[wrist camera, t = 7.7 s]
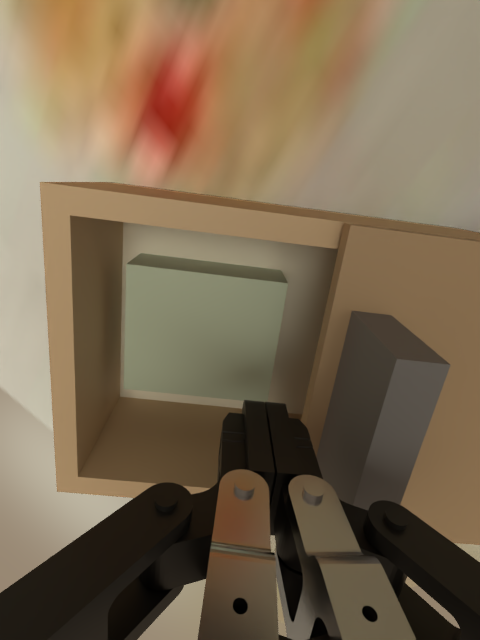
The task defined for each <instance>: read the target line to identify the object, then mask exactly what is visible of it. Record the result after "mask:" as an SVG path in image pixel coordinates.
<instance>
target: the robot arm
mask: <svg viewBox="0 0 480 640" xmlns="http://www.w3.org/2000/svg"><path fill="white" fill-rule="evenodd" d="M310 439H311V438H310V435H309V432H308V429H307V427H306V426H305V425H304V424H303V423H302V422H301V421H300V419H296V418H289V416H288V411H287V407H286V404H285V403H274V402H265V403H264V402H263V401H252V400H244V402H243V408H242V414H241V413H230V412H229V413H228V414H227V416H226V417H225V418H224V420H223V423H222V431H221V439H220V447H219V455H218V475H217V483H216V484H215V485H214V486H213V487H212V488H210V489H208V490H206V491H204V492H200V493H195V494H191V493H190V492H189V491H188V490H187V489H186V488H185V487H183V486H182V485H179V484H176V483H171V482H164V483H159V484H155V485H153V486H151V487H149V488H148V489H146V490H145V491H144V492H142V493H141V494H139V495H138V496H137V497H135V498H134V499H132V500H131V501H129V502H128V503H127V504H125V505H124V506H122V507H121V508H120V509H118V510H117V511H115V512H114V513H113V514H111V515H110V516H108V517H107V518H106V519H104V520H103V521H101V522H100V523H98V524H97V525H96V526H94V527H93V528H91V529H90V530H89V531H87V532H86V533H84V534H83V535H81V536H80V537H79V538H77V539H76V540H75V541H73V542H72V543H70V544H69V545H67V546H66V547H65V548H63V549H62V550H60V551H59V552H58V553H56V554H55V555H53V556H52V557H50V558H49V559H48V560H46V561H45V562H43V563H42V564H41V565H39V566H38V567H36V568H35V569H34V570H32V571H31V572H29V573H28V574H26V575H25V576H24V577H22V578H21V579H19V580H18V581H17V582H15V583H14V584H12V585H11V586H10V587H8V588H7V589H5V590H4V591H3V592H1V593H0V640H137V639H138V638H139V637H140V636H141V635H142V633H143V632H144V631H145V630H146V629H147V628H148V627H149V626H150V625H151V624H152V623H153V622H154V621H155V619H156V618H157V617H158V616H159V615H160V614H161V613H162V612H163V611H164V610H165V609H166V608H167V606H168V605H169V604H170V603H171V602H172V601H173V600H174V599H175V598H176V597H177V596H178V595H179V593H180V592H181V590H182V589H183V587H184V585H186V584H189V583H193V582H196V581H200V580H203V579H206V584H205V592H204V599H203V606H202V613H201V620H200V627H199V634H198V640H480V562H478V561H477V560H476V559H474V558H473V557H471V556H470V555H469V554H467V553H466V552H465V551H463V550H462V549H461V548H459V547H458V546H457V545H455V544H454V543H452V542H451V541H450V540H448V539H447V538H446V537H444V536H443V535H442V534H440V533H439V532H438V531H436V530H435V529H433V528H432V527H431V526H429V525H428V524H427V523H425V522H424V521H423V520H421V519H420V518H419V517H417V516H416V515H414V514H413V513H412V512H410V511H409V510H408V509H406V508H405V507H403V506H401V505H399V504H397V503H395V502H391V501H386V500H380V501H376V502H374V503H372V504H371V505H370V507H369V509H368V510H365V509H362V508H359V507H356V506H353V505H350V504H348V503H345V502H344V501H342V500H340V499H339V498H338V496H337V494H336V492H335V490H334V489H333V487H332V486H331V485H330V484H329V483H327V482H326V481H325V480H323V477H322V474H321V471H320V468H319V464H318V461H317V458H316V455H315V451H314V449H313V445H312V442H311V440H310ZM270 535H275V540H276V547H275V552H274V553H272V552H271V545H270ZM407 576H408V577H409V578H410V579H411V580H413V581H414V582H415V583H416V584H417V585H418V586H419V587H421V588H422V589H423V590H424V591H425V592H426V593H427V594H429V595H430V596H431V597H432V598H433V599H434V600H436V601H437V602H438V603H439V604H440V605H441V606H442V607H444V608H445V609H446V610H447V611H448V612H449V613H450V614H451V615H452V616H453V617H454V618H455V620H456V621H457V623H458V624H459V627H460V629H459V628H456V627H454V626H453V625H452V624H451V623H449V622H448V621H447V620H446V619H445V618H444V617H443V616H441V615H440V614H439V613H438V612H437V611H436V610H435V609H434V608H433V607H431V606H430V605H429V604H428V603H427V602H426V601H425V600H424V599H422V598H421V597H420V596H419V595H418V594H417V593H416V592H415V591H413V590H412V589H411V588H410V587H409V586H408V585H407V584H406V583H405V581H406V578H407ZM276 578H277V583H278V588H279V594H280V599H281V604H282V610H283V615H284V621H285V626H286V633H287V637H284V636H281V635H278V610H277V584H276Z"/></svg>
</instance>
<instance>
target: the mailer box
mask: <svg viewBox="0 0 480 640" xmlns="http://www.w3.org/2000/svg"><path fill="white" fill-rule="evenodd" d="M40 193H41V211H42V229H43V247H44V265H45V283H46V302H47V320H48V338H49V356H50V374H51V392H52V410H53V428H54V446H55V464H56V481H57V492H69V493H81V494H93V495H106V496H117V497H118V496H119V497H130V498H135V497H137V496H138V495H139V494H141V493H142V492H144V491H145V490H146V489H148V488H149V487H151V486H153V485H155V484H159V483H164V482H171V483H176V484H179V485H182V486H183V487H185V488H186V489H187V490H188V491H189V492H190V493H191V494H195V493H200V492H204V491H206V490H208V489H210V488H212V487H213V486H214V485H215V484H216V483H217V475H218V455H219V447H220V439H221V431H222V423H223V420H224V418H225V417H226V416H227V414H228V413H229V412H230V413H241V414H242V408H243V402H244V400H252V401H263V402H264V403H265V402H274V403H285V404H286V407H287V411H288V416H289V418H296V419H300V421H301V418H302V414H303V409H304V405H305V400H306V396H307V391H308V386H309V382H310V377H311V373H312V368H313V363H314V359H315V354H316V350H317V345H318V340H319V336H320V331H321V327H322V322H323V317H324V313H325V308H326V304H327V299H328V294H329V290H330V285H331V281H332V276H333V271H334V267H335V262H336V258H337V253H338V248H339V244H340V239H341V235H342V230H343V226H344V223H351V224H358V225H366V226H373V227H381V228H389V229H396V230H404V231H412V232H419V233H427V234H434V235H442V236H450V237H457V238H465V239H473V240H480V233H478V232H473V231H468V230H463V229H458V228H451V227H443V226H436V225H428V224H421V223H413V222H406V221H398V220H391V219H383V218H376V217H368V216H360V215H353V214H345V213H338V212H330V211H323V210H315V209H308V208H300V207H293V206H285V205H278V204H270V203H263V202H255V201H248V200H240V199H233V198H225V197H217V196H210V195H202V194H195V193H187V192H180V191H172V190H165V189H157V188H150V187H142V186H135V185H127V184H120V183H112V182H40Z"/></svg>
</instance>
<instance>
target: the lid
mask: <svg viewBox="0 0 480 640" xmlns="http://www.w3.org/2000/svg"><path fill="white" fill-rule="evenodd" d="M301 422H302V423H303V424H304V425H305V426H306V427H307V429H308V432H309V435H310V438H311V439H310V440H311V442H312V445H313V449H314V451H315V455H316V458H317V461H318V464H319V468H320V471H321V474H322V477H323V480H325V481H326V482H327V483H329V484H330V485H331V486H332V487H333V489H334V490H335V492H336V494H337V496H338V498H339V499H340V500H342V501H344V502H345V503H348V504H350V505H353V506H356V507H359V508H362V509H365V510H368V509H369V507H370V505H371V504H372V503H374V502H376V501H380V500H386V501H391V502H395V503H397V504H399V505H401V506H403V507H405V508H406V509H408V510H409V511H410V512H412V513H413V514H414V515H416V516H417V517H419V518H420V519H421V520H423V521H424V522H425V523H427V524H428V525H429V526H431V527H432V528H433V529H435V530H436V531H438V532H439V533H440V534H442V535H443V536H444V537H446V538H447V539H448V540H450V541H451V542H452V543H463V544H475V545H480V240H473V239H465V238H457V237H450V236H442V235H434V234H427V233H419V232H412V231H404V230H396V229H389V228H381V227H373V226H366V225H358V224H351V223H344V226H343V230H342V235H341V239H340V244H339V248H338V253H337V258H336V262H335V267H334V271H333V276H332V281H331V285H330V290H329V294H328V299H327V304H326V308H325V313H324V317H323V322H322V327H321V331H320V336H319V340H318V345H317V350H316V354H315V359H314V363H313V368H312V373H311V377H310V382H309V386H308V391H307V396H306V400H305V405H304V409H303V414H302V418H301Z"/></svg>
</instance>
